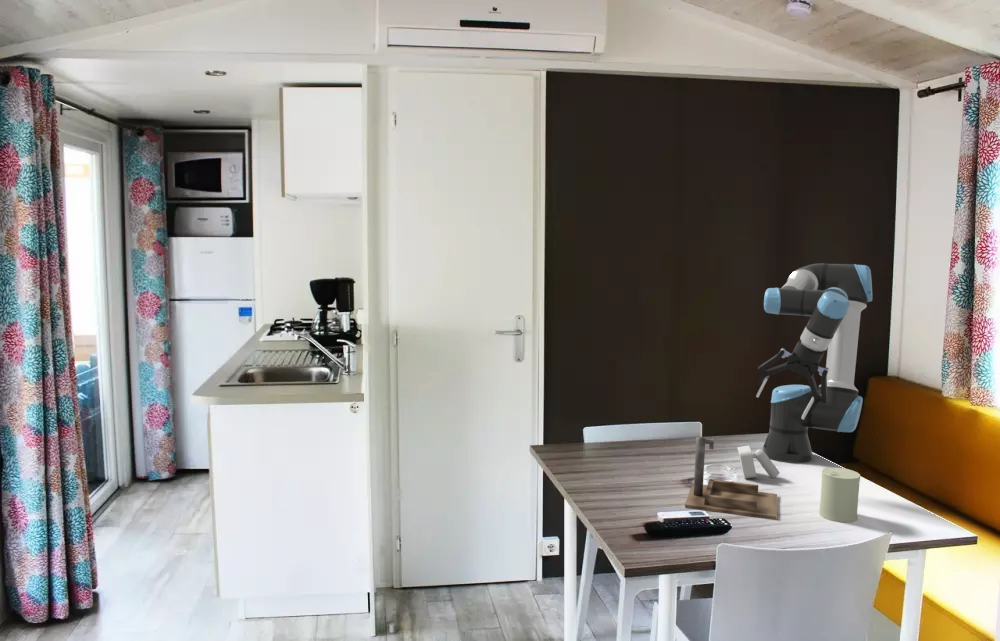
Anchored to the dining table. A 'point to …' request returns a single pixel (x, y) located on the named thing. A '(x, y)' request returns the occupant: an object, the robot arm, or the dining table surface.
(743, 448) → the wall hook
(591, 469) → the dining table surface
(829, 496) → the can
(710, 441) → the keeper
